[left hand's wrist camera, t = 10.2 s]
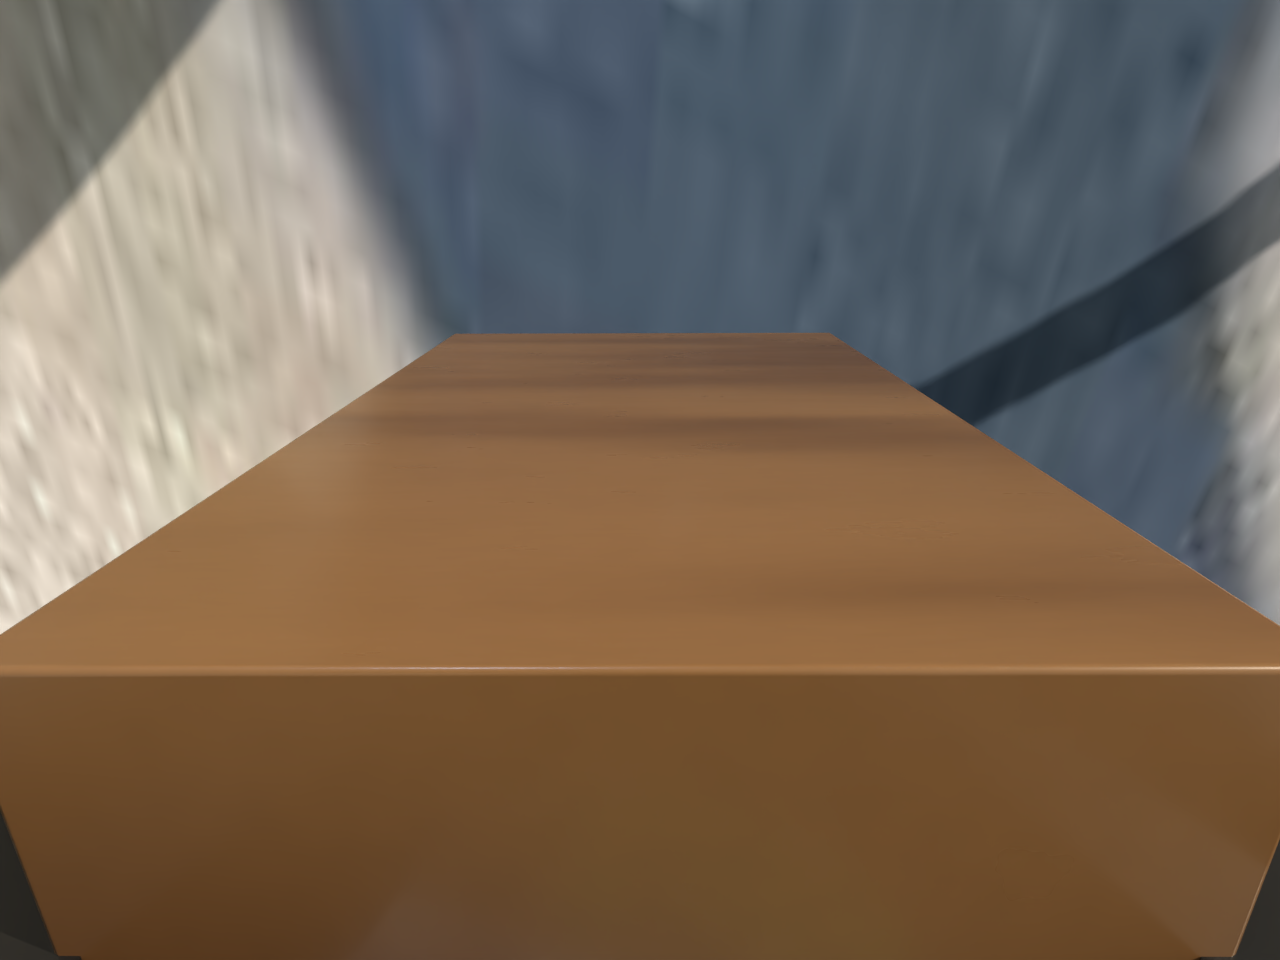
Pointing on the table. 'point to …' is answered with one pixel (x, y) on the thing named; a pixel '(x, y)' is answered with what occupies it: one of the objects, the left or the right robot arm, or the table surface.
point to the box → (643, 687)
